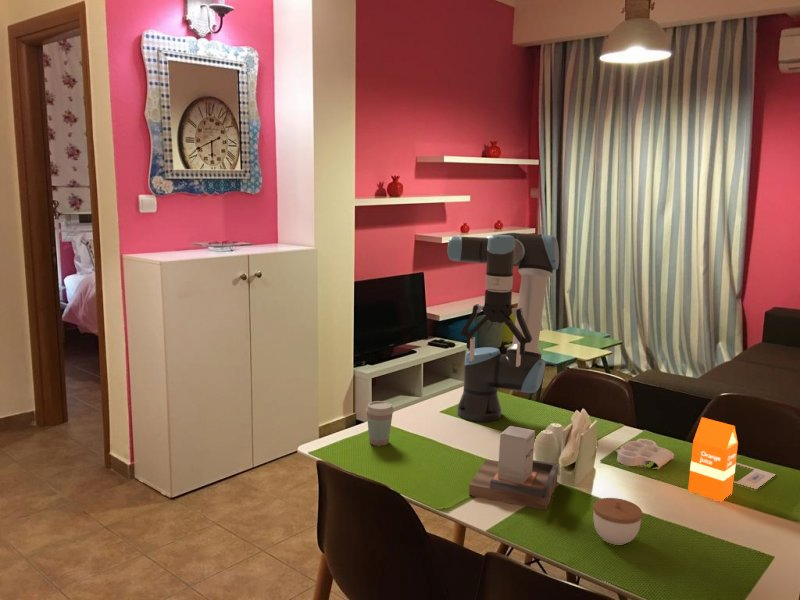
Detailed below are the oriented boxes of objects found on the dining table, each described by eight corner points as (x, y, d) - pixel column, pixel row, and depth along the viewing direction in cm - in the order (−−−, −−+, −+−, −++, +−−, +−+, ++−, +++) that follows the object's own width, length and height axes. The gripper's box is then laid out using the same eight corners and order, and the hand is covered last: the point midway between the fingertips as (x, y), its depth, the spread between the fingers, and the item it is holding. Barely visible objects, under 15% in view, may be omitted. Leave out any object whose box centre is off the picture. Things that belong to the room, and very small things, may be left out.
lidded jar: (614, 555, 157) (617, 516, 155) (581, 533, 166) (584, 496, 165) (649, 545, 162) (653, 506, 160) (615, 524, 171) (618, 487, 170)
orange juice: (699, 483, 196) (707, 413, 192) (732, 494, 189) (741, 422, 186) (687, 491, 190) (694, 420, 187) (720, 502, 184) (729, 429, 180)
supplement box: (523, 485, 183) (526, 438, 181) (496, 478, 187) (499, 433, 185) (532, 475, 190) (535, 430, 187) (506, 468, 193) (509, 424, 191)
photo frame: (756, 488, 192) (691, 467, 204) (755, 492, 192) (690, 470, 205) (775, 473, 202) (712, 454, 214) (775, 477, 202) (711, 457, 215)
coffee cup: (394, 438, 222) (395, 401, 220) (391, 448, 214) (392, 410, 211) (367, 436, 223) (367, 399, 221) (363, 446, 214) (363, 408, 212)
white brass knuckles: (653, 476, 200) (605, 461, 210) (677, 458, 214) (630, 445, 223) (654, 464, 200) (606, 450, 209) (678, 447, 213) (631, 434, 223)
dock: (485, 469, 201) (486, 452, 200) (557, 481, 194) (558, 464, 193) (468, 495, 184) (469, 477, 183) (546, 510, 177) (547, 491, 176)
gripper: (452, 288, 201) (449, 360, 205) (540, 295, 193) (535, 371, 196) (459, 284, 208) (456, 354, 212) (545, 291, 200) (540, 364, 203)
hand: (494, 362), depth 204 cm, fingers open, 13 cm apart
